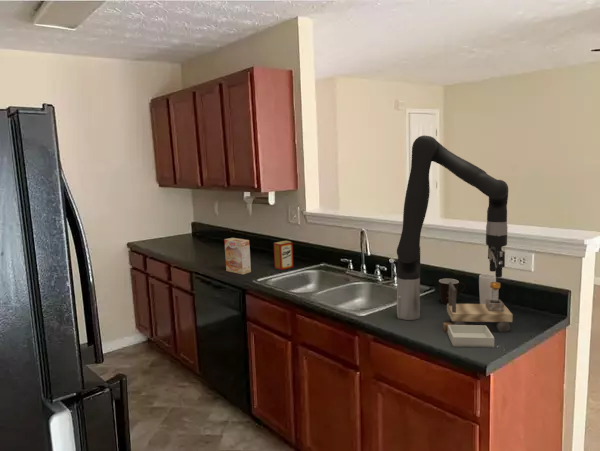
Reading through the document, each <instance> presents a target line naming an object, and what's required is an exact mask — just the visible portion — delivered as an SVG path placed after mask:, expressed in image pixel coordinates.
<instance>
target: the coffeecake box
mask: <svg viewBox="0 0 600 451" xmlns="http://www.w3.org/2000/svg"><path fill="white" fill-rule="evenodd" d="M223 240H224V254H225V255H224V256H225V257H224V258H225V268H226V270H225V271H226V272H229V273H235V274H239V275H246V274H249V273H251V272H252V269H251V268H252V267H251V265H252V264H251V249H250V240H249V239H244V238H239V237H238V238H236V237H230V238H224V239H223Z"/></svg>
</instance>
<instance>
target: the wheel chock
mask: <svg viewBox="0 0 600 451" xmlns="http://www.w3.org/2000/svg"><path fill="white" fill-rule="evenodd" d="M448 325H454V322H443V325H442V326H443V329H442V330H443V332H444V333H448Z"/></svg>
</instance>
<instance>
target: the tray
mask: <svg viewBox="0 0 600 451" xmlns="http://www.w3.org/2000/svg"><path fill="white" fill-rule="evenodd" d="M446 333H447V336H448V338H449V341H450V342H451V345H452V347H454V348H455V347H456V348H457V347H458V348H459V347H462V348H463V347H464V348H465V347H466V348H495V337H494V335H493V334H492V332H491V331H490V329H489V328H488V327H487V325H485V324H484V325H482V324H480V325H477V324H475V325H474V324H466V325H448V332H446Z"/></svg>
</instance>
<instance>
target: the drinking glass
mask: <svg viewBox="0 0 600 451" xmlns="http://www.w3.org/2000/svg"><path fill="white" fill-rule="evenodd" d="M478 276H479V277H478V291H479V292H478V293H479V304H486V299H492V288H491V287H490V283H491V282H497V277H496V276H495V274H489V273H482V274H480V275H478Z"/></svg>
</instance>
